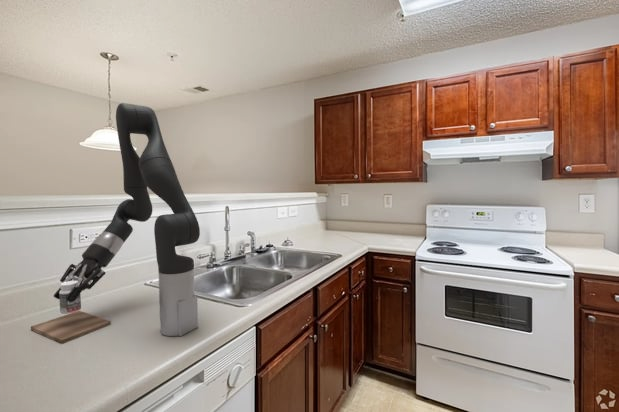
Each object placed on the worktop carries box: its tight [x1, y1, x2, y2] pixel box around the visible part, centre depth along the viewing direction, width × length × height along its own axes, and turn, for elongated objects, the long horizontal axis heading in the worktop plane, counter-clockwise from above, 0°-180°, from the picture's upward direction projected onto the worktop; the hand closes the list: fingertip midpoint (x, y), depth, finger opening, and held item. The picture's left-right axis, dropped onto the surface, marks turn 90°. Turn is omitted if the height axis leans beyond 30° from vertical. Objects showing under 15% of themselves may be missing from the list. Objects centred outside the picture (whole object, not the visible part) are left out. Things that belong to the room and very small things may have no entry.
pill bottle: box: [58, 280, 82, 315], centre depth 83 cm, size 5×5×8 cm
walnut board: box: [30, 310, 112, 344], centre depth 84 cm, size 17×12×1 cm
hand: (62, 299), depth 82 cm, fingers closed on pill bottle, 4 cm apart
